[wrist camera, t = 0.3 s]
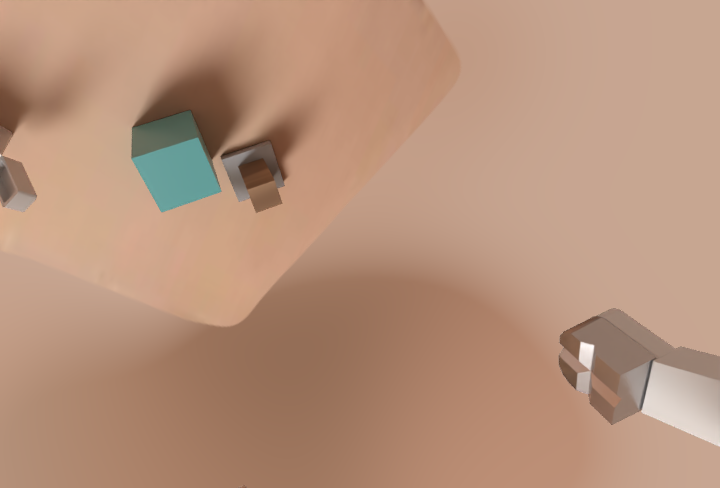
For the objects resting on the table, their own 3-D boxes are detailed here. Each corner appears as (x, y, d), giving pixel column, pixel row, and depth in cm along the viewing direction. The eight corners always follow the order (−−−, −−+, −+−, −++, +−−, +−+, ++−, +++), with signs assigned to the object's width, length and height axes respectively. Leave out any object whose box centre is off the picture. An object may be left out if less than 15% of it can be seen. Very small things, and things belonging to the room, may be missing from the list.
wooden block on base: (220, 156, 44) (229, 183, 40) (269, 140, 45) (283, 164, 41) (237, 198, 47) (248, 227, 43) (282, 182, 48) (297, 209, 44)
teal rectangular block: (132, 127, 40) (131, 158, 35) (190, 110, 41) (197, 137, 36) (158, 177, 43) (161, 212, 38) (212, 160, 44) (221, 191, 39)
